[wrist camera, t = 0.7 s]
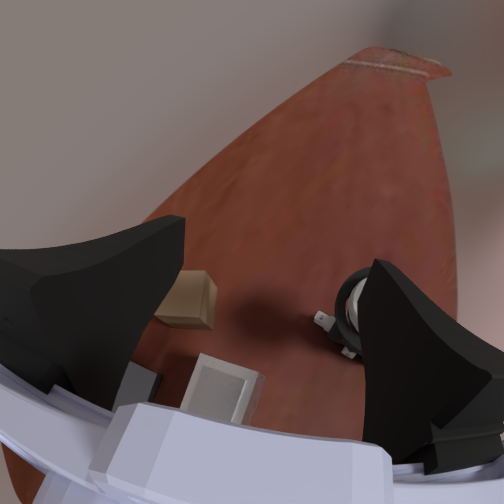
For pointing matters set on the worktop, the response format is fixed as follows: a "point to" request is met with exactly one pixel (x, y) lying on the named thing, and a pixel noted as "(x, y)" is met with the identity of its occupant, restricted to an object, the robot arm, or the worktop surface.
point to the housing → (223, 391)
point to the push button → (346, 315)
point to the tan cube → (190, 302)
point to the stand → (137, 386)
